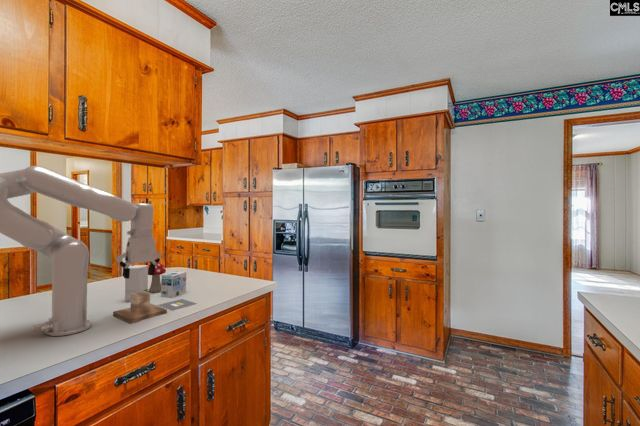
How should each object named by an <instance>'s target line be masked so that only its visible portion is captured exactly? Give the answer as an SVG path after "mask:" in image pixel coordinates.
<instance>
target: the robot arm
mask: <svg viewBox="0 0 640 426" xmlns="http://www.w3.org/2000/svg"><path fill="white" fill-rule="evenodd" d="M35 193H37V194H40V195H43V196H46V197H48V198H51V199H54V200H56V201H59V202H62V203H64V204H66V205H67V204H68V205H70V206H73V207H76V208H80V209H85V210H89V211H93V212H96V213H99V214H102V215H105V216H108V217H109V218H110V219H112V220H114V221H116V222H117V221H119V222H129V221H131V223H130V230H129V231H127V232H126V234H127V235H128V236H129V237H128V239H127V242H126V247H125V252H124V253H122V254H120V255H117V256H116V257H115V259H116V261H117V263H118V265H119V266H121V268H122V276H123V278H124V279H125V278H126V279H129V275H130V269H129V268H128V267H130V266H132V264H142V263H149V265H148V268H149V275H148V276H152V275H154V273H155V265H157V263H158V262H160V260H161V258H162V256H163V254H162V253H160V252H158V251H157V248H156V247H157V246H156V240H155V237H153V228H154V227H153V225H154V210H155V209H154V205H153V204H152V203H143V202H136V203H132V202H130V201H128V200H126V199H123V198H121V197H118V196H116V195H113V194H111V193H109V192H107V191H106V192H105V191H103V190H101V189H98V188H96V187H93V186H91V185H89V184H86V183H83V182H82V181H78V180H77V179H73V178H71V177H69V176H66V175H64V174H61V173H59V172H57V171H55V170H52V169H49V168H47V167H45V166H41V165H31V166H28V167H25V168H23V169H19V170H18V169H17V170H13V171H12V170H11V171H8V172H1V173H0V234H2V235H3V236H5V237H7V238H9V239H11V240H14V241H15V242H17V243H19V244H20V245H22V246H23V247H25V248H27V249H32V250H34V251H36V252H37V253H39V254H42V255H44V256H46V257H47V258H50V259H52V274H51V275H52V277H51V278H52V279H51V287H52V290H51V292H52V293H51V317H49V318H48V320H47V321H45V322H43V323H38V324H34V325H32V331H33V332H36V331H39V330H40V332H43V331H44V333H45V334H46V335H47V336H51V337H60V336H69V335H73V334H79V333H81V332H84V331H86V330H88V329H89V328H91V327H92V325H93V323H92V320H90V319H87V313H88V312H87V311H88V309H87V308H88V271H89V268H88V267H89V261H90V252H89V248H88V246H87V245H86V244H85V243H84V242H83V241H82V240H80V239H78V238H75V237H73V236H72V235H70V234H68V233H66V232H64V231H62V230H60V229H59V228H56V227H55V226H53V225H51V224H50V223H48V222H46V221H44V220H40V219H39V218H36V217H35V216H32V215H31V214H29V213H27V212H25V211H24V210H22V209H20V208H19V207H16V206H15V205H13V204H12V203H11V202H10V201H9V199H13V198H18V197H23V196H26V195H31V194H35ZM123 260H125V261H123Z"/></svg>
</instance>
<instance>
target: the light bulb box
mask: <svg viewBox="0 0 640 426" xmlns="http://www.w3.org/2000/svg"><path fill="white" fill-rule="evenodd" d="M160 282H161V291H160V293H161V295H160V296H161V297H162V298H171V299H172V298H173V299H174V298H176V297H178V296H181V295H183V294H185V293H187V271H178V270H174V271H171V272H166V273H163V274H161V279H160Z"/></svg>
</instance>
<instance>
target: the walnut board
mask: <svg viewBox="0 0 640 426" xmlns="http://www.w3.org/2000/svg"><path fill="white" fill-rule="evenodd" d="M167 313H168V309H166V308H163V307H161V306H158V305H155V304H152V303H150V310H149V311H145V312H141V313H134V312H132V311H131V306H130V307H128V308H127V307H126V308H123V309H119V310H114V311H112V316H113V317H115V318H118V319H120V320H122V321H124V322H126V323H129V324H135V323H136V322H140V321H143V320H147V319H150V318H155V317H157V316H158V317H159V316H162V315H165V314H167Z"/></svg>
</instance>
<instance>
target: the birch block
mask: <svg viewBox="0 0 640 426" xmlns="http://www.w3.org/2000/svg"><path fill="white" fill-rule="evenodd" d="M150 304H151V292H145V291H141V292H137V293H132V294H131V302H130V307H131V311H132V312H134V313H141V312H145V311H149V310H150Z"/></svg>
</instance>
